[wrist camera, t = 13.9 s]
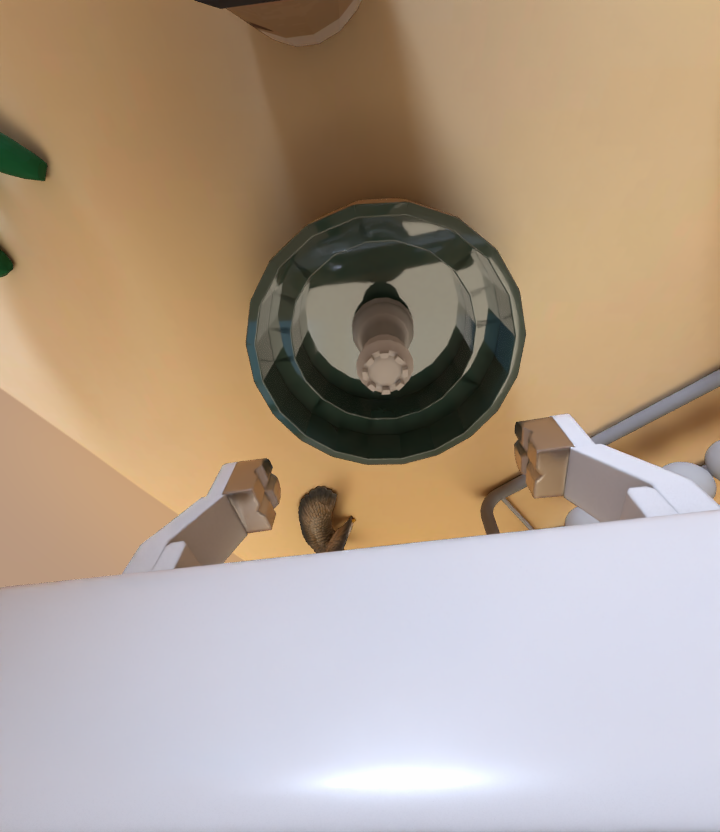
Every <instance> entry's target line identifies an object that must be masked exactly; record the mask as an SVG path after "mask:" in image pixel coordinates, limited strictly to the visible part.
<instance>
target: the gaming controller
mask: <svg viewBox="0 0 720 832" xmlns="http://www.w3.org/2000/svg"><path fill="white" fill-rule="evenodd" d="M47 167H48V166H47V163H46V162H44V161H43V160H42V159H40V158H39V157H38V156H37V155H35V154H34V153H32V152H31V151H29V150H28V149H26V148H25V147H23V146H22V145H20V144H19V143H17V142H16V141H14V140H13V139H11V138H9V137H8V136H6V135H4V134H3V133H1V132H0V172H2V173H5V174H8V175H12V176H16V177H20V178H24V179H31V180H40V181H45V177H46V170H47ZM12 269H13V264H12V261H11V260H10V259H9V258H8V257H7V255H6V254H5V253H4V252H3V251H2V250H0V277H3V276H6V275H7V274H8V273H9V272H10V271H11V270H12Z"/></svg>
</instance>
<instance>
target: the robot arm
mask: <svg viewBox="0 0 720 832" xmlns="http://www.w3.org/2000/svg"><path fill="white" fill-rule="evenodd" d="M515 434H516V436H517V438H518V440H517V442H516V443H515V444H514V453H515V460H516V463H517V466H518V469H519V471H520V473H522V474H524V475H525V476H526V484H527V486H528V488H529V490H530V492H531V494H532V496H533V498H545V497H555V496H564V498H566V499H567V500H569V501H570V502H572V503H573V504H575V505H576V506H578V507H579V508H580V509H582V510H583V511H585V512H586V513H588V514H589V515H591V516H592V517H594V518H595V519H596V520H598V521H599V523H590V524H581V525H572V526H563V527H554V528H545V529H536V530H527V531H518V532H508V533H499V534H490V535H480V536H471V537H462V538H452V539H443V540H434V541H424V542H415V543H406V544H397V545H388V546H379V547H370V548H361V549H352V550H343V551H334V552H324V553H315V554H306V555H297V556H288V557H278V558H269V559H260V560H251V561H241V562H232V563H224V562H225V560H226V559H227V558H228V557H229V556H230V555H231V553H232V552H233V551H234V550H235V549H236V548H237V546H238V545H239V544H240V543H241V542H242V540H243V539H244V538H245V537H246V536H247V533H253V532H260V531H266V530H272V526H273V523H274V520H275V516H276V513H275V511H274V508H275V507H276V506H277V505H278V504H279V502H280V498H281V488H280V483H279V481H278V478H277V477H276V476H275V475H273V474H272V473H271V471H272V468H273V467H272V465H271V462H270V460H269V459H267V458H264V459H256V460H248V461H240V462H233V463H226V464H224V465H223V466H222V467H221V469H220V471H219V473H218V475H217V477H216V479H215V481H214V483H213V485H212V487H211V488H210V490H209V492H208V494H207V496H206V497H202V498H201V499H199V500H198V501H197V502H195V503H194V504H193V505H191V506H190V507H189V508H188V509H186V510H185V511H184V512H182V513H181V514H180V515H179V516H177V517H176V518H175V519H173V520H172V521H171V522H169V523H168V524H167V525H166V526H164V527H163V528H162V529H160V530H159V531H158V532H157V533H155V534H154V535H153V536H151V537H150V538H149V539H148V540H146V541H145V542H144V543H142V544H141V545H140V546H139V548H138V549H137V551H136V553H135V554H134V556H133V557H132V559H131V561H130V562H129V564H128V565H127V567H126V569H125V570H124V571H123V573H122V574H121V575H112V576H102V577H93V578H84V579H75V580H65V581H56V582H47V583H39V584H27V585H17V586H7V587H2V588H0V832H720V505H719V504H717V503H716V502H715V501H714V500H713V499H712V498H711V497H710V496H709V495H708V494H707V493H706V492H705V491H704V490H703V489H701V488H700V487H699V486H698V485H697V484H696V483H695V482H694V481H693V480H691V479H689V478H686V477H684V476H681V475H679V474H676V473H674V472H671V471H669V470H666V469H664V468H661V467H659V466H656V465H654V464H651V463H648V462H646V461H643V460H641V459H638V458H636V457H633V456H631V455H628V454H626V453H623V452H621V451H618V450H616V449H613V448H611V447H608V446H605V445H603V444H595V443H594V442H593V441H592V440H591V438H590V437H589V436H588V435H587V434H586V433H585V431H584V430H583V429H582V428H581V427H580V426H579V424H578V423H577V422H576V421H575V420H574V419H573V418H572V416H571V415H569V414H561V415H555V416H550V417H546V418H540V419H533V420H526V421H520V422H516V425H515Z"/></svg>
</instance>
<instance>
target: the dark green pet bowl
mask: <svg viewBox="0 0 720 832" xmlns="http://www.w3.org/2000/svg"><path fill="white" fill-rule="evenodd" d="M375 298H390V299H393V300H396V301H399V302H400V303H402V304H403V305H404V306H405V307H406V308H407V309H408V310H409V312H410V314H411V317H412V319H413V339H412V342H411V344H410V346H409V348H408V350H409V352H410V354H411V356H412V359H413V373H412V375H411V377H410V379H409V381H408V382H407V383H406V384H405V385H404V386H403V387H402V388H401V389H400V390H399V391H398V390H394V391H392V392H390V394H386V395H382V392H378V391H374V392H373V391H371V390H370V389H369V388H368V387H367V386H366V385H364V384H363V383H362V382H361V380H360V378H359V376H358V375H357V368H356V363H357V360H358V357H359V354H360V352H359V350H358V349H357V347H356V345H355V343H354V341H353V332H352V323H353V320H354V317H355V314H356V312H357V311H358V310H359V309H360V308H361V307H362V305H363V304H365V303H367V302H369V301H371V300H373V299H375ZM525 337H526V330H525V323H524V316H523V309H522V302H521V295H520V291H519V288H518V286H517V285H516V283H515V281H514V279H513V277H512V276H511V274H510V272H509V270H508V268H507V267H506V265H505V263H504V261H503V259H502V258H501V256H500V254H499V252H498V250H496V248H495V247H493V246H492V245H491V244H490V243H489V242H487V241H486V240H485V239H484V238H483V237H481V236H480V235H479V234H478V233H476V232H475V231H474V230H473V229H472V228H470V227H469V226H468V225H467V224H465V223H464V222H463V221H462V220H461V219H459V218H457V217H455V216H453V215H450V214H448V213H445V212H443V211H440V210H437V209H434V208H431V207H428V206H425V205H422V204H419V203H416V202H413V201H410V200H406V199H403V198H385V199H366V200H357V201H355V202H353V203H350V204H348V205H346V206H344V207H341V208H339V209H337V210H335V211H332V212H330V213H328V214H325V215H323V216H321V217H319V218H318V219H316V220H314V221H313V222H311V223H309V224H308V225H306V226H305V227H304V228H303V229H302V230H301V231H300V232H299V233H297V234H296V235H295V236H294V237H293V238H292V239H291V240H290V241H289V242H288V243H287V244H286V245H285V246H284V247H283V248H282V249H281V250H280V251H279V252H278V253H277V254H276V255H275V256H274V257H273V258H272V259H271V260H270V261H269V263H268V265H267V267H266V270H265V272H264V274H263V276H262V278H261V280H260V282H259V284H258V286H257V288H256V290H255V292H254V294H253V296H252V298H251V302H250V308H249V317H248V326H247V335H246V347H247V352H248V356H249V361H250V365H251V370H252V374H253V379H254V382H255V384H256V386H257V388H258V389H259V391H260V393H261V394H262V396H263V398H264V400H265V401H266V403H267V405H268V406H269V408H270V410H271V411H272V413H273V414H274V416H275V417H276V418H277V419H278V420H279V421H281V422H282V423H283V424H284V425H285V426H286V427H287V428H288V429H289V430H290V431H291V432H292V433H293V434H294V435H296V436H297V437H298V438H299V439H301V441H303V442H305V443H307V444H309V445H311V446H313V447H315V448H317V449H318V450H320V451H322V452H324V453H326V454H328V455H330V456H332V457H336V458H340V459H344V460H349V461H353V462H357V463H361V464H367V465H387V464H406V463H410V462H413V461H417V460H421V459H425V458H429V457H432V456H436V455H439V454H441V453H442V452H444V451H446V450H448V449H450V448H451V447H453V446H455V445H457V444H459V443H460V442H462V441H464V440H466V439H468V438H469V437H471V436H472V435H473V434H474V433H475V432H476V431H477V430H478V429H479V428H480V427H481V426H482V425H483V424H484V423H486V422H487V421H488V420H489V419H490V418H491V417H492V416H493V415H494V414H495V413H496V412H497V411H498V410H499V408H500V406H501V404H502V403H503V401H504V399H505V397H506V395H507V394H508V392H509V390H510V388H511V387H512V385H513V383H514V381H515V379H516V378H517V375H518V372H519V367H520V362H521V357H522V352H523V347H524V342H525Z"/></svg>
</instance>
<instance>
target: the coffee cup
mask: <svg viewBox="0 0 720 832" xmlns="http://www.w3.org/2000/svg"><path fill="white" fill-rule="evenodd" d="M195 1H198V2H201V3H204V4H207V5H211V6H214V7H217V8H220V9H223V8H226V9H228V10H229V11H231V12H232V13H234V14H235V15H237V16H238V17H240V18H241V19H243V20H244V21H246V22H247V23H249V24H250V25H252V26H253V27H255V28H256V29H258V30H259V31H261V32H262V33H264V34H265V35H267V36H268V37H270V38H271V39H273V40H276V41H279V42H283V43H286V44H289V45H292V46H295V47H298V46H306V45H313V44H319V43H321V42H323V41H324V40H326V39H328V38H329V37H331V36H333V35H334V34H336V33H337V32H339V31H340V30H341V29H342V28H343V27H344V25H345V24H346V23H347V22H348V20H349V19H350V18H351V17H352V15H353V14H354V13H355V11H356V10H357V9H358V7H359V5H360V2H361V0H195Z"/></svg>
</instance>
